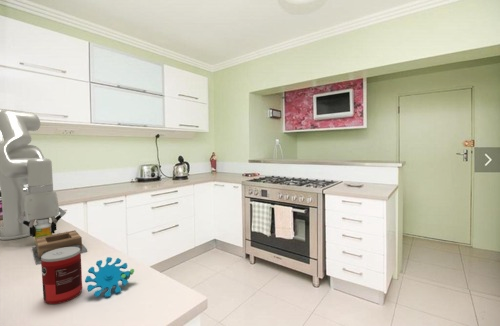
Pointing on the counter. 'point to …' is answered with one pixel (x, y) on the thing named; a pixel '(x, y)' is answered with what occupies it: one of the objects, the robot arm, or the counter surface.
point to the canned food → (61, 274)
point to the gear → (108, 277)
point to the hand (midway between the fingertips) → (43, 233)
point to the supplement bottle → (43, 228)
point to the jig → (57, 241)
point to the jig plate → (38, 260)
